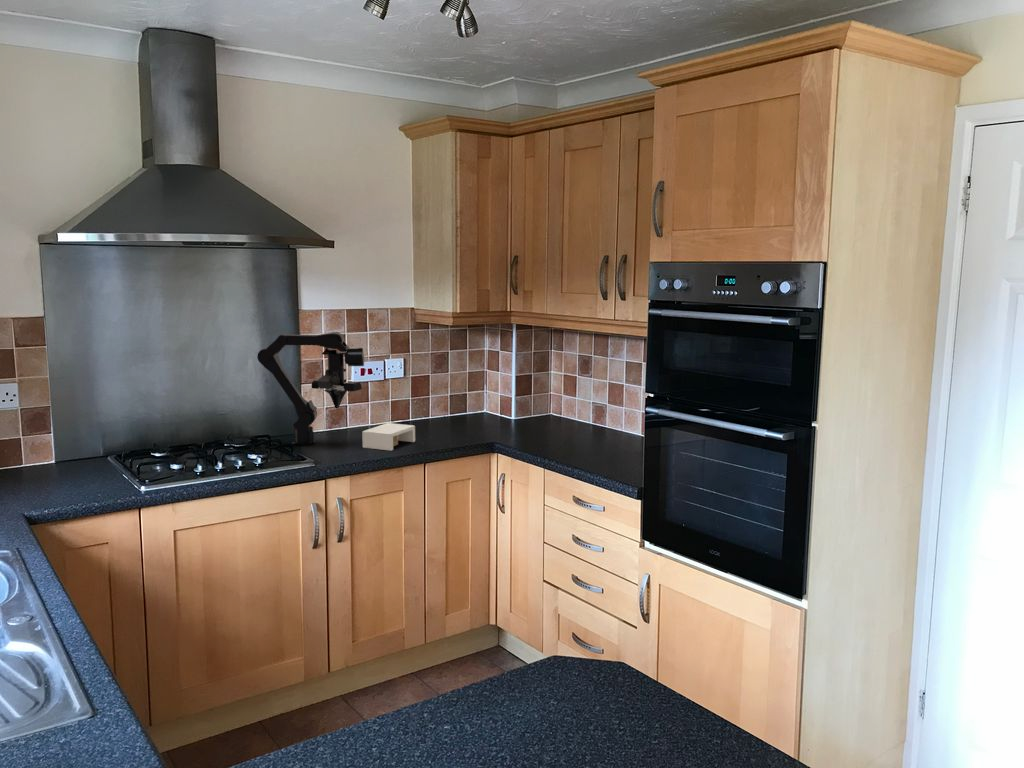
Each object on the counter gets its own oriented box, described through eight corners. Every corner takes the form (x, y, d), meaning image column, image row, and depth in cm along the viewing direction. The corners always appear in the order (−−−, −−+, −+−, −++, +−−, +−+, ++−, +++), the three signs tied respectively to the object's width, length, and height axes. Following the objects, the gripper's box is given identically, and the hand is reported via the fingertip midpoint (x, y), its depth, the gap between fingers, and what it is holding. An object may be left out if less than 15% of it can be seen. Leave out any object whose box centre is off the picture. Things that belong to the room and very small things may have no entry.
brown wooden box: (367, 445, 307) (366, 434, 306) (375, 442, 312) (375, 432, 311) (390, 448, 303) (390, 437, 302) (398, 445, 308) (398, 434, 307)
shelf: (362, 447, 302) (362, 431, 302) (388, 438, 318) (387, 423, 317) (390, 450, 298) (390, 434, 297) (415, 441, 313) (415, 425, 312)
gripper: (301, 367, 303) (302, 409, 305) (344, 370, 295) (345, 413, 297) (320, 364, 313) (321, 405, 315) (361, 366, 305) (362, 408, 308)
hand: (337, 408), depth 308 cm, fingers closed
